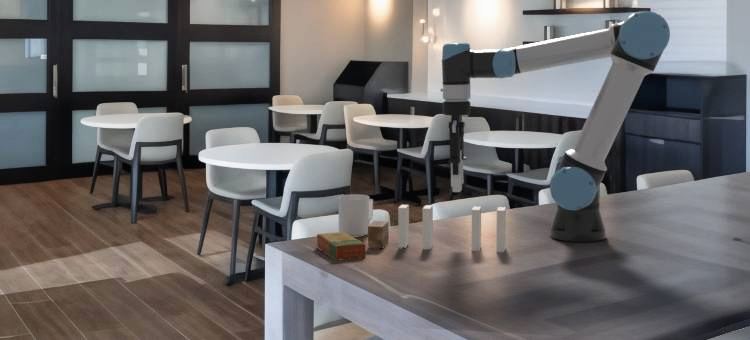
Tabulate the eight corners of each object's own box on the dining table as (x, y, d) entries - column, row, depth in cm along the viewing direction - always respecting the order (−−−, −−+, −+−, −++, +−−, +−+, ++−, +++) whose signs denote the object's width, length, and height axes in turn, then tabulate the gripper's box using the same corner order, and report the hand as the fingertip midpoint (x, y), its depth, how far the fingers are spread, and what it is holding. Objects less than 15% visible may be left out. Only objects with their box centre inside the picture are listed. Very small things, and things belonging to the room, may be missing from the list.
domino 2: (432, 245, 234) (432, 205, 233) (430, 249, 229) (429, 208, 228) (425, 245, 235) (425, 205, 233) (422, 249, 230) (422, 208, 228)
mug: (354, 239, 243) (354, 200, 241) (332, 235, 249) (331, 197, 247) (383, 232, 252) (382, 195, 250) (361, 228, 258) (360, 192, 256)
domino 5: (505, 248, 230) (505, 207, 229) (504, 252, 225) (504, 210, 224) (497, 247, 231) (498, 207, 229) (496, 251, 226) (496, 210, 224)
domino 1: (409, 244, 236) (408, 204, 234) (405, 248, 231) (405, 208, 229) (401, 244, 236) (401, 204, 235) (398, 248, 231) (398, 207, 230)
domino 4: (480, 247, 232) (481, 206, 230) (479, 251, 227) (479, 209, 225) (473, 246, 232) (473, 206, 230) (471, 251, 227) (471, 209, 226)
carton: (345, 246, 236) (345, 231, 235) (366, 259, 221) (366, 242, 220) (316, 249, 233) (316, 233, 232) (335, 262, 218) (335, 245, 217)
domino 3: (461, 189, 241) (461, 149, 239) (459, 192, 236) (459, 151, 234) (454, 189, 241) (454, 149, 240) (452, 191, 236) (452, 151, 235)
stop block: (388, 242, 238) (388, 221, 238) (382, 248, 231) (382, 226, 230) (374, 242, 239) (374, 220, 238) (368, 248, 231) (367, 226, 231)
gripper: (446, 98, 245) (447, 180, 248) (438, 102, 227) (439, 189, 230) (473, 98, 243) (474, 180, 246) (466, 101, 226) (467, 190, 229)
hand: (457, 184), depth 238 cm, fingers closed on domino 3, 5 cm apart
